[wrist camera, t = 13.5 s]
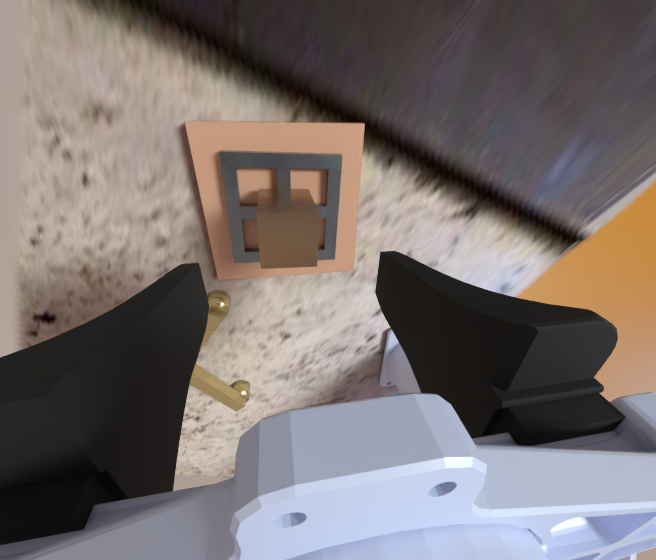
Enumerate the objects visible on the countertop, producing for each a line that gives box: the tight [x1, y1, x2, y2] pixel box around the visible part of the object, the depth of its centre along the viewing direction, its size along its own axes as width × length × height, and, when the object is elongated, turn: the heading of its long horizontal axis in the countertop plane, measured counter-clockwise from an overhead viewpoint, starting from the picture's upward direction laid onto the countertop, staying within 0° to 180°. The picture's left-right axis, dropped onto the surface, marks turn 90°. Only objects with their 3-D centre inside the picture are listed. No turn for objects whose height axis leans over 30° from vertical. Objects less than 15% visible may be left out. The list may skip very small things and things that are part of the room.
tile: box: [185, 121, 365, 280], centre depth 19 cm, size 10×10×1 cm
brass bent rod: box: [190, 290, 250, 411], centre depth 24 cm, size 6×12×2 cm, turn 179°
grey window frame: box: [219, 150, 343, 269], centre depth 17 cm, size 7×7×5 cm
